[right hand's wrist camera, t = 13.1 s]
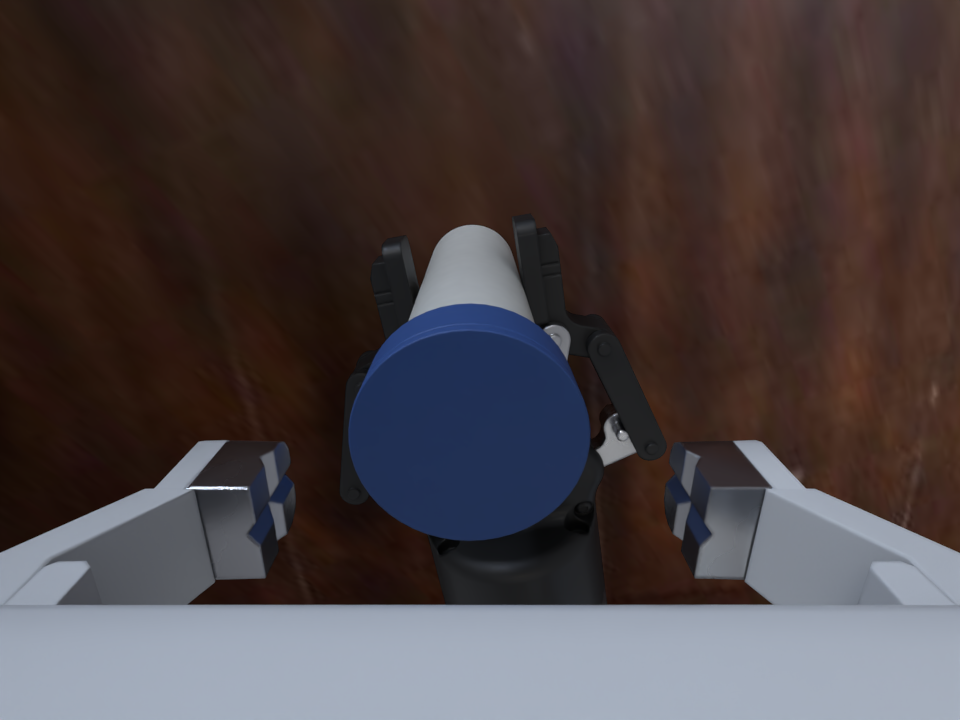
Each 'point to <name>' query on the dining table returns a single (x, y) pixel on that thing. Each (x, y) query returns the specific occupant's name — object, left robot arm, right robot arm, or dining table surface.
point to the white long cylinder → (472, 273)
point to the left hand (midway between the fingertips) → (457, 231)
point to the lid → (469, 424)
